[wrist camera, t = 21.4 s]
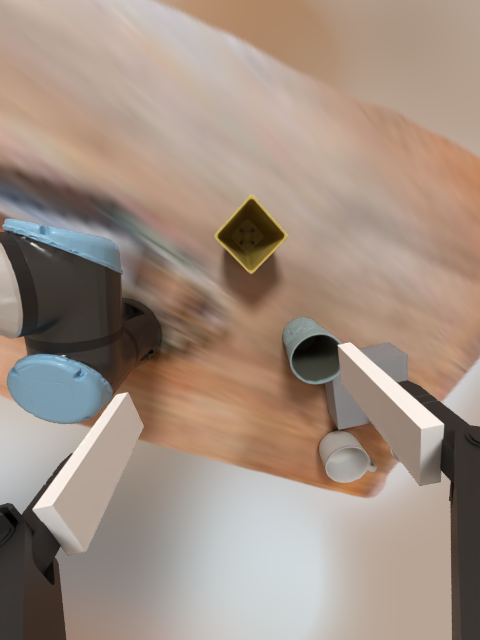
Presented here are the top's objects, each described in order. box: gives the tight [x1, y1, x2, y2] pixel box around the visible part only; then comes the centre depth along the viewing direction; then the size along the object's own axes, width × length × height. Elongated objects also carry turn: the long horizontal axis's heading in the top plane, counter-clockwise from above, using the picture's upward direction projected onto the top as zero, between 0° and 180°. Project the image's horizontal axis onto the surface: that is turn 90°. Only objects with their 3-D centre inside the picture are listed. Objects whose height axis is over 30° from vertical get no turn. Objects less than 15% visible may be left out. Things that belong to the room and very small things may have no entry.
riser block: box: [325, 343, 408, 430], centre depth 55 cm, size 16×16×6 cm
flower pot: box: [214, 195, 288, 274], centre depth 42 cm, size 9×9×9 cm
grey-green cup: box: [283, 317, 342, 384], centre depth 48 cm, size 10×10×12 cm
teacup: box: [319, 431, 377, 483], centre depth 61 cm, size 14×11×8 cm
